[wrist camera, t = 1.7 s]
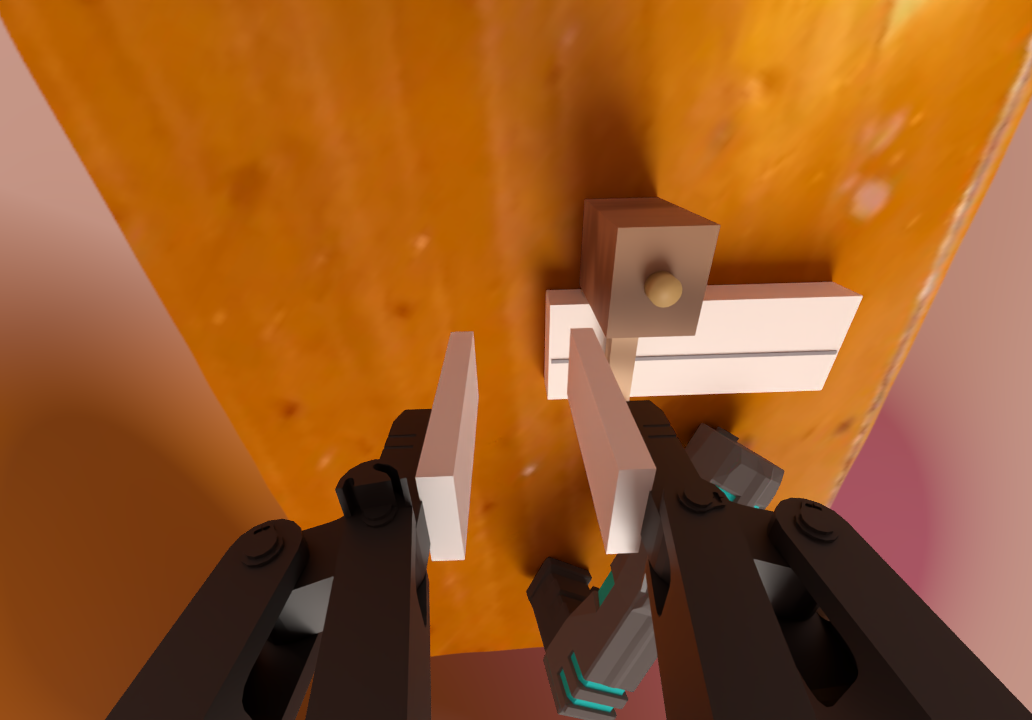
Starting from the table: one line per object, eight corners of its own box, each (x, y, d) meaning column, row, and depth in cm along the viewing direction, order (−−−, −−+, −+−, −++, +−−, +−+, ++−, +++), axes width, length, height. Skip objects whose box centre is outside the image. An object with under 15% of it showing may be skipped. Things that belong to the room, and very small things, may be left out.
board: (546, 290, 30) (550, 305, 28) (832, 281, 31) (864, 296, 28) (544, 378, 34) (548, 400, 32) (797, 370, 35) (822, 390, 32)
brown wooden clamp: (584, 199, 27) (623, 232, 18) (657, 197, 27) (730, 229, 19) (572, 387, 35) (596, 473, 26) (629, 385, 35) (671, 470, 26)
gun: (519, 595, 48) (555, 739, 34) (648, 385, 44) (750, 446, 30) (563, 609, 50) (616, 751, 36) (691, 408, 46) (806, 477, 32)
